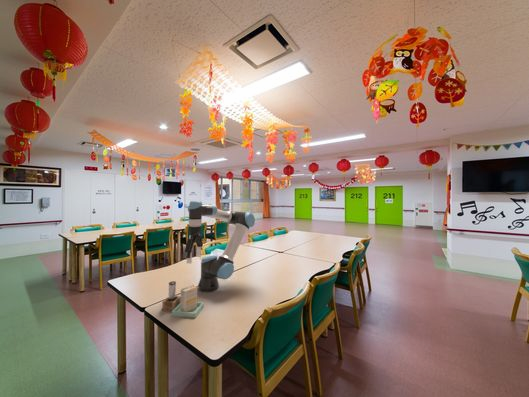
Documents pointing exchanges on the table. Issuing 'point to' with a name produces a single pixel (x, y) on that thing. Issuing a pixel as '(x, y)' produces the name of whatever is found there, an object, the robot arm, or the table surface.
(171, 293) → the cylinder
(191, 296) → the supplement box
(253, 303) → the table surface
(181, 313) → the tray
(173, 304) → the brown square holder
